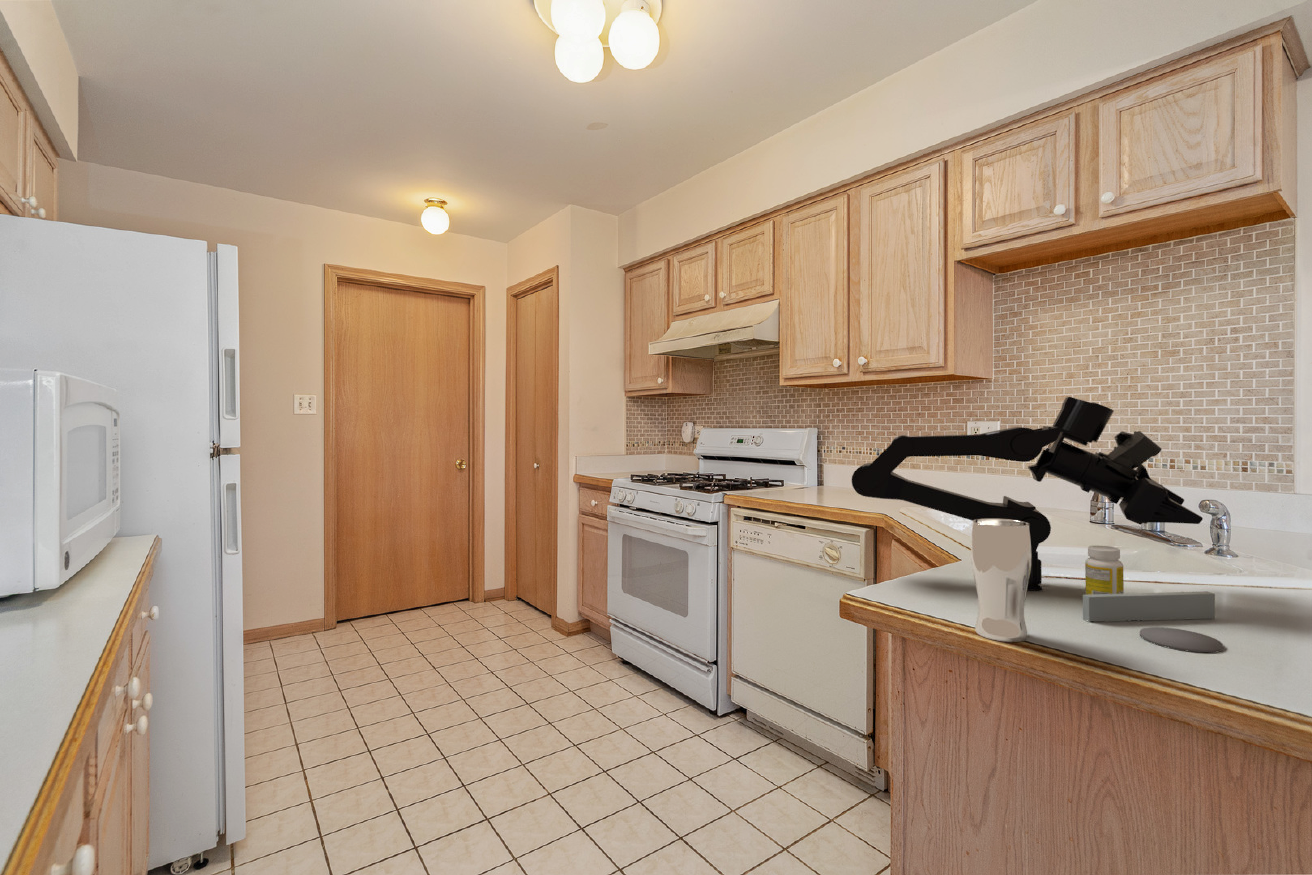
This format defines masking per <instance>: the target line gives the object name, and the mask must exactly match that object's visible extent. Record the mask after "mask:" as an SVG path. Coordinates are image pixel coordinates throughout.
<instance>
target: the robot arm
mask: <svg viewBox="0 0 1312 875" xmlns="http://www.w3.org/2000/svg"><path fill="white" fill-rule="evenodd" d="M1113 413H1114V409H1112V408H1110V407H1107V406H1105V405H1102V404H1099V403H1097V402H1090V401H1086V400H1082V399H1079V398H1075V397H1072V396H1067V397H1065V398H1064V400H1063V402H1062V405H1061V408H1060V411H1059V413H1058V414H1057V415H1056V418H1055V419H1054V422H1053V424H1052V426H1045V425H1043V427H1041V428H1034V429H1033V428H1031V427H1023V426H1015V427H1009V428H1003V429H999V430H993V431H988V432H983V433H979V434H977V433H976V434H951V435H949V434H947V435H946V434H945V435H915V436H913V435H912V436H911V435H903V434H902V435H899V436H897V437H894V439H893V440H892V441H891V443H890V444H889V445H888V447H886V448H885V449H884V450H883V451H882V452H881V453H880V454H879V455H878V456H877V457H876V458H875V459H874V460H873V461H872V462H868V463H867V462H866V463H863V464H861V465H860V466H858V468H857V469H855V471H853V473H852V475H851V485H852V488H853V489H854V490H855V493H857V494H858V495H861V496H862V497H865V498H875V499H883V500H894V501H895V500H896V501H898V500H899V501H904V502H906V503H907V502H908V503H911V504H915V505H918V506H922V507H925V508H927V509H931V510H935V511H938V512H942V513H945V514H948V515H952V516H956V517H958V518H963V519H966V520H969V521H972V522H973V520H975V519H985V518H996V519H1011V520H1018V521H1024V522H1027V523H1029V531H1030V541H1031V570H1030V577H1029V582H1028V587H1027V591H1043V586H1042V583H1043V582H1042V578H1043V577H1042V560H1041V559H1039V551H1037V550H1038V548H1039V546H1040V544H1041V543H1044V542H1045V541H1046V540H1048V539H1049V536H1051V535H1050V534H1051V529H1052V526H1051V522H1050V521H1049V519H1048V517H1047V516H1046V515H1044V514H1043V513H1042V512H1040V511H1039V510H1038V509H1037V507H1036V506H1035V505H1033V504H1032V503H1031V502H1030V501H1018V500H1015V499H1013V498H1011V497H1009V496H1007V495H1003V496H1002V502H992V501H991V502H990V501H986V500H982V499H978V498H974V497H971V496H968V495H965V494H962V493H961V494H960V493H957V492H954V491H949V490H947V489H942V488H939V487H935V486H932V485H928V484H924V483H921V482H918V481H914V480H911V479H908V478H905V477H903V476H901V475H900V474H898V473H896V472H894V471H895V470H896V468H898V466H900V464H902V463H903V462H904V460H906V459H907V458H909V457H957V456H958V457H965V456H966V457H967V456H968V457H969V456H971V457H973V456H979V457H987V458H991V459H993V458H994V459H1000V460H1006V461H1011V462H1012V461H1013V462H1021V463H1026V462H1030V461H1033V460H1035V459H1037V457H1038V456H1039V457H1038V459H1037V461H1036V463H1035V464H1032V465H1028V466H1027V470H1029V471H1030V473H1031V475H1032V479H1033V480H1034V481H1036V482H1042V481H1043V479H1044V477H1045V475H1046V474H1048V475H1051V476H1054V477H1056V478H1058V479H1061V480H1062V481H1065V482H1068V483H1071V484H1073V485H1075V486H1078V487H1080V490H1082V491H1083V492H1087V493H1090V492H1093V493H1096V494H1098V495H1100V496H1103V497H1105V498H1107V499H1108V501H1109V502H1111V503H1113V504H1116V505H1117V504H1118V503H1119V504H1118V506H1119V508H1120V511H1121V513H1122V514H1123V516H1124V517H1125V519H1126V520H1128V521H1130V522H1133V523H1135V524H1138V525H1140V526H1141V525H1142V524H1148V523H1150V524H1151V523H1156V524H1157V523H1158V524H1159V523H1162V524H1163V523H1165V524H1187V525H1188V524H1191V525H1200V524H1201V522H1202V521H1203V518H1204V517H1202V516H1201V515H1199V514H1198V513H1196V512H1194V511H1192V510H1191V509H1189V508H1187V507H1185V506H1183V504H1184V503H1185V499H1184V498H1183V497H1181V496H1180V495H1179V494H1176V493H1175V492H1173V491H1172V490H1170V489H1168V488H1167V487H1165V486H1163V485H1162V484H1160V483H1159V482H1157V481H1156V480H1154V479H1152V478H1151V477H1150V475H1149V473H1148V470H1147V467H1145V466H1144V465H1143V464H1144V463H1146V462H1147V461H1148V460H1149V459H1151V458H1152V457H1156V456H1157V455H1159V454H1160V453H1161V452H1162V450H1163V448H1162V447H1160V446H1159V445H1158V444H1157V443H1156V442H1154V440H1152V439H1151V438H1150V437H1148V436H1147V435H1146V434H1144V433H1143V432H1141V431H1140V430H1139V431H1135V430H1134V431H1133V433H1131V432H1126V431H1120V432H1119V433H1117V434H1115V435H1114V437H1113V439H1114V441H1115V443H1116V446H1114V447H1113V450H1111V451H1110V452H1109V453H1105V452H1102V451H1098V452H1095V453H1094V452H1091V451H1088V450H1086V449H1082V448H1079V447H1078V446H1074V445H1072V444H1070V443H1067V442H1065V441H1064V440H1065V439H1066V440H1068V441H1070V442H1073V443H1075V444H1078V445H1080V446H1081V445H1082V446H1085V447H1087V446H1088V444H1089V443H1090V444H1091V443H1093V442H1094V443H1097V442H1098V440H1100V437H1101V435H1102V433H1103V432H1104V430H1105V428H1106V426H1107V424H1108V423H1109V421H1110V419H1111V417H1112V415H1113ZM1052 443H1053V444H1052ZM1050 444H1052V445H1051V446H1050V448H1049V450H1047V449H1043V448H1044V447H1046V446H1048V445H1050ZM1121 498H1122V499H1121ZM1120 500H1121V501H1120ZM1119 501H1120V502H1119Z"/></svg>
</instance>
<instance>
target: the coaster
mask: <svg viewBox="0 0 1312 875" xmlns="http://www.w3.org/2000/svg"><path fill="white" fill-rule="evenodd" d="M1139 636H1140V637H1141V638H1142V637H1143V638H1144V639H1143V638H1142V639H1143V640H1144V641H1146V640H1147V642H1148V643H1151V642H1152V643H1151V644H1154V643H1155V644H1154V645H1157V644H1158V645H1157V646H1160V647H1163V646H1166V647H1165V648H1167V647H1169V649H1172V648H1174V649H1173V650H1177V649H1179V650H1178V651H1182V650H1188V651H1187V652H1189V651H1194V652H1193V653H1200V652H1212V653H1216V652H1215V651H1219V652H1220V650H1221V651H1222V650H1223V648H1224V646H1223V643H1222V642H1221V641H1220V640H1219V639H1217V638H1214V637H1212V636H1210V635H1206V634H1203V633H1199V632H1195V631H1191V630H1186V629H1180V628H1173V627H1161V626H1156V627H1155V626H1152V627H1150V626H1149V627H1144V628H1142V629H1140V630H1139Z"/></svg>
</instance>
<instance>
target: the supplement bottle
mask: <svg viewBox="0 0 1312 875" xmlns="http://www.w3.org/2000/svg"><path fill="white" fill-rule="evenodd" d="M1087 555H1088V556H1087V557H1088V558H1087V559H1085V562H1084V563H1085V564H1084V566H1085V567H1084V568H1085V570H1084V571H1085V595H1090V594H1125V593H1124V591H1125V590H1124V589H1125V588H1124V564H1123V562H1122V561H1120V560H1119V559H1121V549H1120V548H1118V547H1115V546H1109V545H1089V546H1088V547H1087Z"/></svg>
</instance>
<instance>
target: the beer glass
mask: <svg viewBox="0 0 1312 875" xmlns="http://www.w3.org/2000/svg"><path fill="white" fill-rule="evenodd" d="M970 542H971V543H970V544H971V545H970V555H971V559H970V560H971V568H972V573H973V580H974V584H975V590H976V594H977V603H978V605H977V606H978V612H977V617H976V623H975V628H974V629H975V633H977V635H979V636H980V637H982V638H986V639H988V640H992V641H998V642H1004V643H1019V642H1024V641H1026V640H1027V639H1028V638H1029V636H1028V635H1029V634H1028V630H1027V625H1026V621H1025V620H1026V619H1025V602H1026V596H1027V592H1028V590H1027V587H1028V582H1029V577H1030V570H1031V541H1030V531H1029V523H1027V522H1024V521H1018V520H1011V519H996V518H985V519H975V520H973V521H972V530H971V540H970Z"/></svg>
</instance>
